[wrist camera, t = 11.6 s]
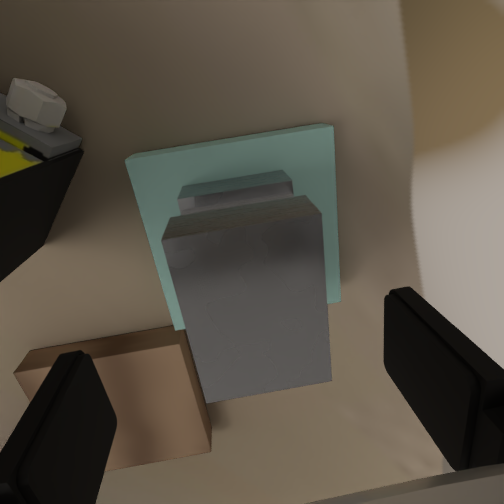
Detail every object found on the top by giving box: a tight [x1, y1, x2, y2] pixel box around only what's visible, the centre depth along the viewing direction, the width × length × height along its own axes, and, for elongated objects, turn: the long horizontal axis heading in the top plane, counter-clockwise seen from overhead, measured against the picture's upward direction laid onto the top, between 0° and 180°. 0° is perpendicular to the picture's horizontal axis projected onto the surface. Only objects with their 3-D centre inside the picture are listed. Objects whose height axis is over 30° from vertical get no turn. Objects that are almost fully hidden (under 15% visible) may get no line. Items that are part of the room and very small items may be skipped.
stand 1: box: [13, 326, 212, 472], centre depth 24 cm, size 10×10×2 cm
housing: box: [161, 170, 332, 403], centre depth 15 cm, size 7×5×7 cm
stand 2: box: [125, 123, 341, 331], centre depth 19 cm, size 10×10×2 cm
